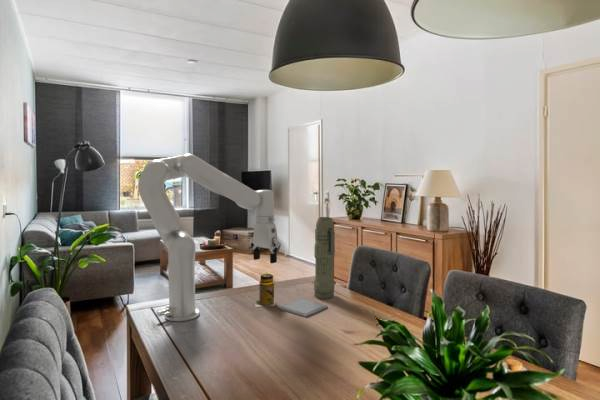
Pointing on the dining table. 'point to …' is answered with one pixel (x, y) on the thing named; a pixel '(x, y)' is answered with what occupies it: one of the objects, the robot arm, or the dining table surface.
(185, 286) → the robot arm
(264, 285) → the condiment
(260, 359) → the dining table surface
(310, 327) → the dining table surface
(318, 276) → the thermos
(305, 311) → the plate
